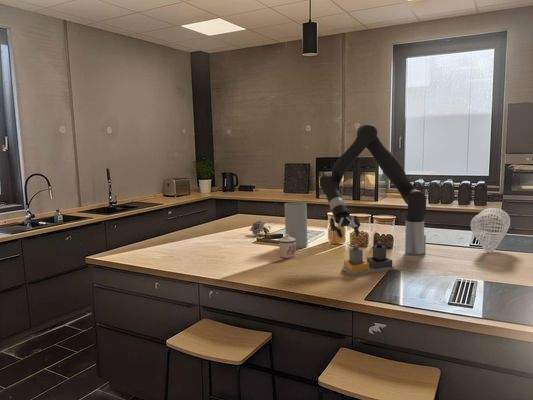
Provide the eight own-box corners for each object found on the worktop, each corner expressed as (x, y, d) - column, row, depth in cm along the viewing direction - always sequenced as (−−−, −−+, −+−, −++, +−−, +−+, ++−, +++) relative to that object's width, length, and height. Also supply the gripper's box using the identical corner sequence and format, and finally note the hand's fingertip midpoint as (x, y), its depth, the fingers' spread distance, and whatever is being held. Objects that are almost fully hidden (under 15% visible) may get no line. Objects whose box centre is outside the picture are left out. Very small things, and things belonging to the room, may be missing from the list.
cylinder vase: (307, 243, 249) (306, 201, 246) (307, 249, 237) (306, 205, 233) (286, 243, 250) (285, 202, 247) (285, 249, 238) (283, 205, 235)
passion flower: (256, 244, 275) (245, 229, 275) (264, 237, 284) (253, 223, 284) (267, 236, 268) (255, 221, 269) (275, 229, 277) (264, 215, 278)
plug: (358, 266, 197) (357, 243, 196) (362, 269, 193) (362, 245, 191) (349, 267, 196) (349, 244, 194) (353, 270, 192) (353, 246, 190)
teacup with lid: (289, 259, 218) (288, 237, 217) (275, 256, 224) (274, 235, 223) (302, 254, 227) (302, 232, 226) (289, 251, 233) (288, 231, 232)
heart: (501, 262, 199) (503, 216, 196) (466, 257, 209) (467, 213, 206) (511, 248, 221) (512, 207, 218) (478, 245, 231) (480, 205, 227)
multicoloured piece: (383, 264, 203) (383, 239, 202) (394, 269, 195) (394, 243, 193) (342, 269, 198) (341, 243, 196) (350, 275, 189) (350, 248, 187)
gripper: (327, 205, 203) (338, 233, 194) (354, 202, 207) (366, 230, 198) (323, 214, 209) (333, 241, 200) (349, 211, 213) (360, 238, 203)
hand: (349, 235), depth 199 cm, fingers open, 8 cm apart
